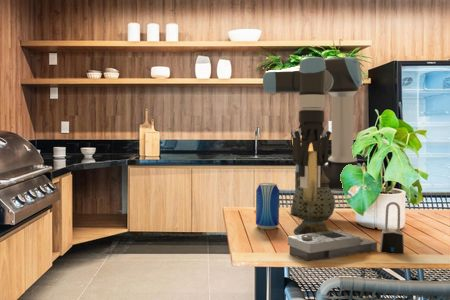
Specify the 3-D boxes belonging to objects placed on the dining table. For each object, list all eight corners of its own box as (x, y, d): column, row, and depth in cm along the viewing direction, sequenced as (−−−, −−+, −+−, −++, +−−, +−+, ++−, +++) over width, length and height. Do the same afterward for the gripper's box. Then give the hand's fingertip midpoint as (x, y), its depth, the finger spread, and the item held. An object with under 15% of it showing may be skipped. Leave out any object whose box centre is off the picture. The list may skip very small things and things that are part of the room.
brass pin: (310, 199, 141) (311, 150, 141) (319, 201, 138) (320, 151, 137) (300, 200, 140) (301, 151, 139) (308, 202, 136) (309, 151, 135)
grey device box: (352, 242, 147) (353, 224, 147) (376, 250, 138) (377, 231, 138) (287, 253, 134) (287, 233, 134) (309, 262, 126) (309, 241, 125)
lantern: (340, 232, 160) (342, 161, 159) (321, 240, 149) (322, 164, 148) (305, 226, 169) (307, 159, 168) (284, 233, 159) (285, 161, 157)
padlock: (402, 250, 138) (404, 201, 137) (404, 254, 134) (406, 203, 133) (379, 248, 140) (380, 200, 139) (380, 252, 136) (381, 202, 135)
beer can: (277, 230, 163) (278, 185, 162) (254, 229, 165) (254, 185, 164) (279, 225, 171) (280, 183, 171) (257, 224, 173) (257, 182, 172)
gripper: (325, 110, 144) (324, 184, 146) (280, 109, 137) (279, 187, 138) (342, 110, 138) (340, 187, 139) (295, 108, 130) (294, 190, 131)
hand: (310, 187), depth 138 cm, fingers closed on brass pin, 4 cm apart
